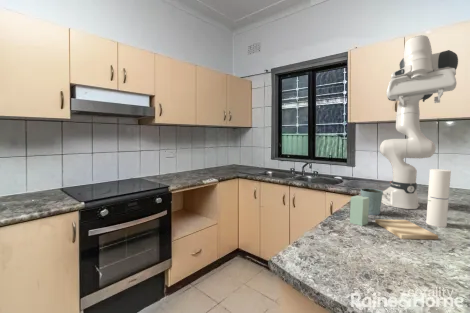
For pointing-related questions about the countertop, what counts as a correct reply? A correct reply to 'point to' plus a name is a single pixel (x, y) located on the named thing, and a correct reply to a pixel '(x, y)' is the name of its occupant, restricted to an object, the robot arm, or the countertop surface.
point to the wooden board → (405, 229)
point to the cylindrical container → (438, 197)
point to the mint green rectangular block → (359, 210)
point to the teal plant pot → (373, 199)
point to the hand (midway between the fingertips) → (420, 104)
